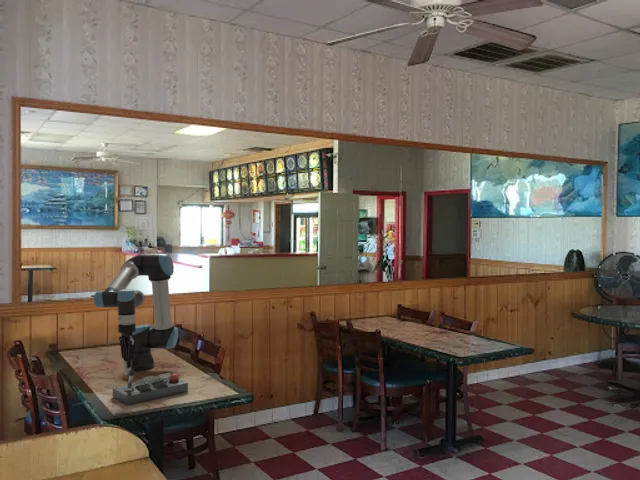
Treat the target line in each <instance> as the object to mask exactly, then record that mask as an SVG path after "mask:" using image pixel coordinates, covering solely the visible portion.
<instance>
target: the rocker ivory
mask: <svg viewBox="0 0 640 480" xmlns="http://www.w3.org/2000/svg"><path fill="white" fill-rule="evenodd" d="M170 374H171V373H170V372H165V373H160V374H158V375H156V376H155V375H154V379H155V380H153V381H157V380H162V379H165V378H168V377H170Z"/></svg>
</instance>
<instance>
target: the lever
mask: <svg viewBox="0 0 640 480" xmlns="http://www.w3.org/2000/svg"><path fill="white" fill-rule="evenodd" d="M135 375H136V370H130V371H129V375H128V381H127V385H128V386H127V388H128V389H130V388H131V387H132V384H133V380H134V376H135Z"/></svg>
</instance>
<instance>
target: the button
mask: <svg viewBox="0 0 640 480" xmlns="http://www.w3.org/2000/svg"><path fill="white" fill-rule="evenodd" d="M179 379H180V375H179V373H177V372H176V373H174V372H173V373H170V377H169V380H170V381H171V382H175V381H179Z"/></svg>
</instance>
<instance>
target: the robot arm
mask: <svg viewBox="0 0 640 480" xmlns="http://www.w3.org/2000/svg"><path fill="white" fill-rule="evenodd" d="M174 272H175V270H174V262H173V259H172V257H171V255H170V254H166V253H165V254H164V253H149V254H148V253H141V254H137V255H134V256H132V257H131V258H128V260H126V261H124V263H123V264H122V265H121V266H120V271H119V272H118V273H117V275H116V276H115V277H114V278H113V280H111V282H110V283H109V284H108V286H107V287H106V288H105V289H104V291H103V290H101V291H97V292H95V293H94V297H93V303H94V305H95V307H97V308H117V317H116V318H117V321H118V324H117V330H118V331H117V332H118V333H119V334H121V336H118V339H119V344H120V345H119V346H120V354H121V358H122V359H123V373H124V375H125V376H129V371H130V370H134V371H143V370H149V369H152V368H154V367H155V359H154V357H153V354H152V349H158V350H159V349H163V350H164V349H166V350H168V349H174V348H175V347H176V345H177V344H178V343H177V342H178V339H179V328H178V326H177V327H176V326H175V322H173V321H172V315H171V303H170V291H169V290H170V289H169V280H170V279H171V277H172V276H173V274H174ZM141 276H142V277H143V276H144V277H147V278H148V281H149V282H151V287H152V289H151V290H152V299H153V300H152V302H153V313H154V324H153V325H151V324H148V323H146V324H140V325H136V321H137V320H136V308H137V307H140V306H141V305H142V304H143V303H145V294H144V293H143V292H142V291H141V290H137V289H136V290H135V289H130V288H129V289H128V286H129V285H130V284H131V282H132V281H133V280H134V279H136V278H137V277H141Z"/></svg>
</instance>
